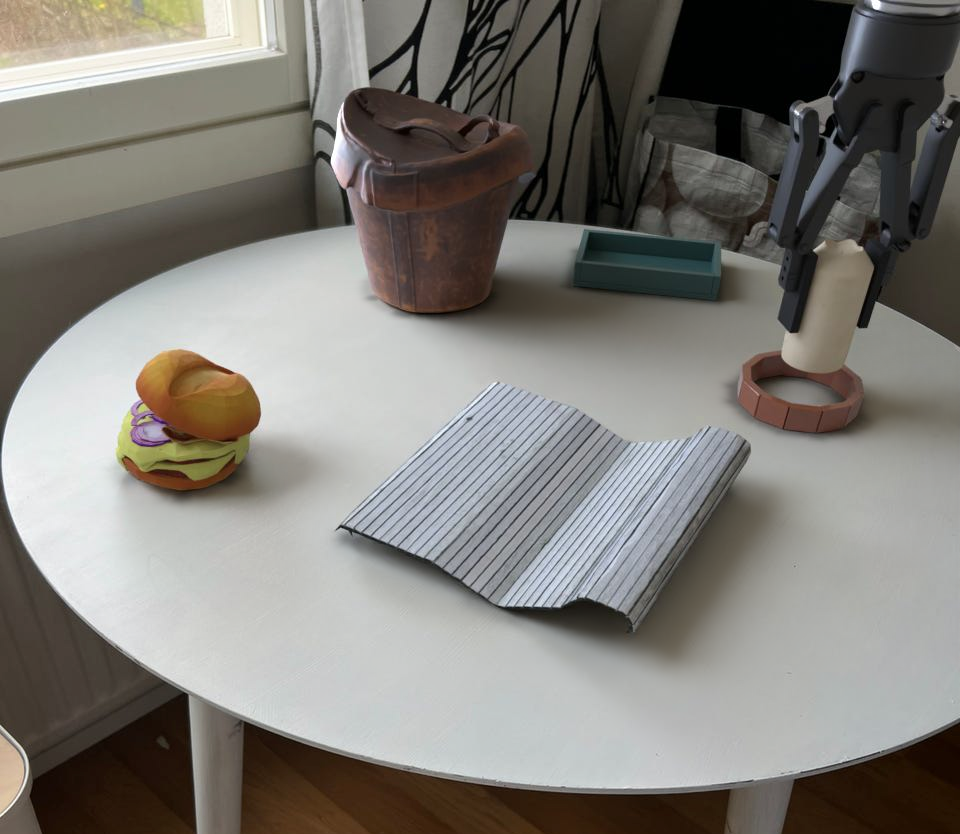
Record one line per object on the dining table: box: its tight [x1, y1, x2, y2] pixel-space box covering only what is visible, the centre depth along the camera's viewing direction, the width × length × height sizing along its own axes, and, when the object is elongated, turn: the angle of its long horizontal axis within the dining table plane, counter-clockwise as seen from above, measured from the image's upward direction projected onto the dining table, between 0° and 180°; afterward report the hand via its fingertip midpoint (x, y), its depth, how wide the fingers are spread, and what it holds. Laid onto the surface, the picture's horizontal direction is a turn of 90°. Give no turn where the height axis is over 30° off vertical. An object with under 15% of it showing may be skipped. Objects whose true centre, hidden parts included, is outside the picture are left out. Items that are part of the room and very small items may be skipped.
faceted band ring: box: [736, 349, 866, 434], centre depth 86 cm, size 11×11×2 cm
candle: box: [781, 238, 874, 373], centre depth 80 cm, size 6×6×10 cm
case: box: [330, 86, 537, 314], centre depth 95 cm, size 18×20×18 cm
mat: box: [333, 381, 752, 634], centre depth 72 cm, size 23×24×5 cm
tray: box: [572, 228, 722, 302], centre depth 104 cm, size 15×9×3 cm, turn 80°
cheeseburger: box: [115, 348, 262, 491], centre depth 74 cm, size 10×11×10 cm
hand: (822, 323), depth 81 cm, fingers closed on candle, 5 cm apart
